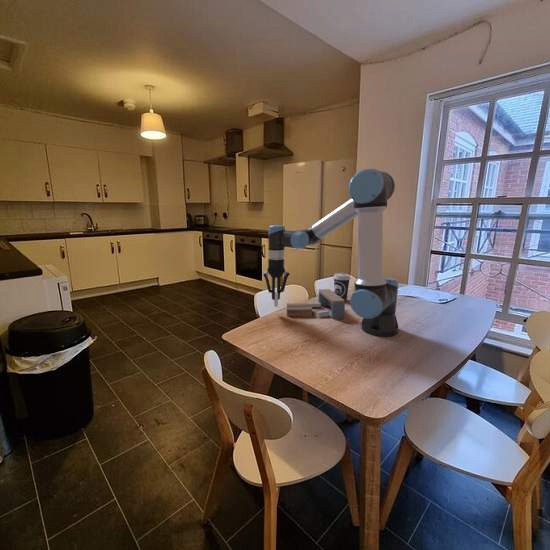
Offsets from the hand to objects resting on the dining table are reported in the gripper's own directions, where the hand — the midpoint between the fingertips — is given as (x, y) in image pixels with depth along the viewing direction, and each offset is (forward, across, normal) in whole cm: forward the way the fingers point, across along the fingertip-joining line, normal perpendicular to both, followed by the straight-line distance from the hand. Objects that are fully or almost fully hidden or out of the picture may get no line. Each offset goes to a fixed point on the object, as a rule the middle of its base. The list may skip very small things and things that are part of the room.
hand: (275, 305), depth 143 cm
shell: (+5, -12, 0) cm, 13 cm away
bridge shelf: (+4, -25, 0) cm, 25 cm away
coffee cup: (+5, -41, -16) cm, 44 cm away
